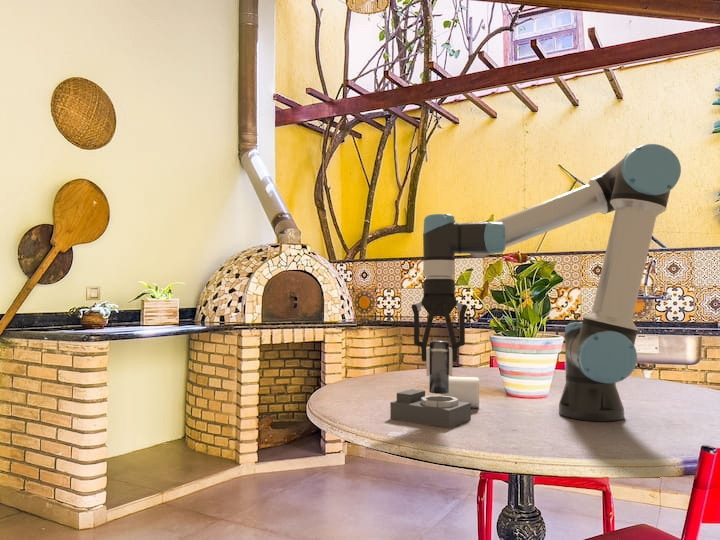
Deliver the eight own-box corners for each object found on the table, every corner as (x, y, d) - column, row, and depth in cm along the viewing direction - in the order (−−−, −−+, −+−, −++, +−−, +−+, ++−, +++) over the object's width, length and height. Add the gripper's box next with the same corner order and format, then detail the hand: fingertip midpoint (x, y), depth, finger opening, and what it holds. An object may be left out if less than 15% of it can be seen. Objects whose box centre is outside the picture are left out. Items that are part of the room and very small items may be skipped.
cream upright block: (479, 410, 146) (479, 379, 146) (440, 409, 148) (440, 378, 148) (479, 401, 158) (478, 373, 158) (443, 400, 160) (443, 372, 160)
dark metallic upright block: (452, 391, 135) (452, 341, 136) (443, 394, 131) (443, 342, 132) (435, 389, 138) (435, 340, 138) (425, 392, 134) (425, 341, 135)
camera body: (470, 419, 135) (470, 394, 136) (449, 428, 127) (449, 401, 127) (414, 411, 145) (413, 387, 145) (390, 418, 136) (390, 393, 136)
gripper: (474, 278, 138) (475, 373, 137) (402, 278, 140) (403, 372, 139) (477, 278, 131) (478, 378, 130) (401, 278, 133) (401, 376, 132)
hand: (439, 374), depth 135 cm, fingers closed on dark metallic upright block, 5 cm apart
